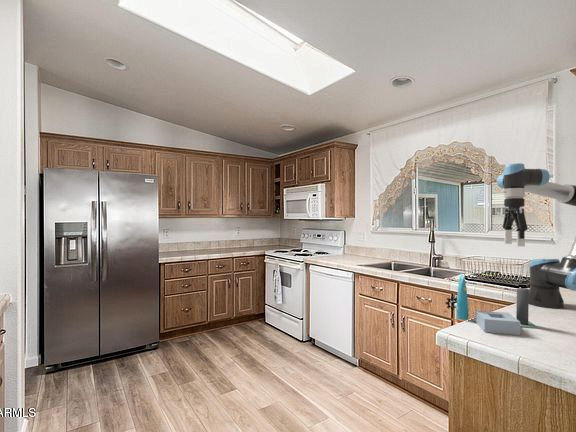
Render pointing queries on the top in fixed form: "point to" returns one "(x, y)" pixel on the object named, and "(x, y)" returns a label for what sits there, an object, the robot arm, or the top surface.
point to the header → (497, 322)
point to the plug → (522, 306)
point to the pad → (529, 325)
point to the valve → (453, 304)
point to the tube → (462, 300)
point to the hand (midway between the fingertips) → (514, 245)
